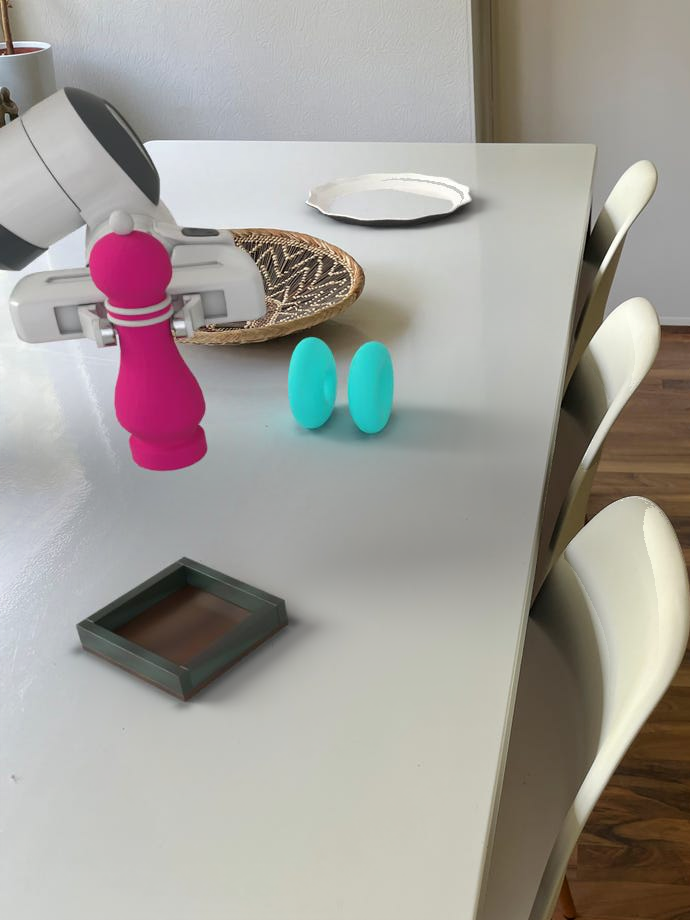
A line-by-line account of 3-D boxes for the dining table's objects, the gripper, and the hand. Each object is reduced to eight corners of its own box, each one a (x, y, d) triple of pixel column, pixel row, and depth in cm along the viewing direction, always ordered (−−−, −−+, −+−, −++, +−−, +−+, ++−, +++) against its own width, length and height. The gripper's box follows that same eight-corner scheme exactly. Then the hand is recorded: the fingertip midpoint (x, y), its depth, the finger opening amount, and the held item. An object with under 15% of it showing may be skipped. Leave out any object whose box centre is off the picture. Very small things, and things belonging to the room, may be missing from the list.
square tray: (84, 653, 85) (75, 624, 83) (190, 583, 93) (184, 556, 91) (186, 706, 80) (178, 677, 78) (289, 628, 88) (285, 599, 86)
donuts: (316, 404, 122) (307, 322, 116) (398, 410, 120) (393, 328, 114) (290, 443, 114) (279, 358, 108) (377, 450, 113) (371, 364, 107)
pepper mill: (157, 428, 91) (106, 192, 78) (229, 441, 89) (188, 201, 77) (109, 466, 86) (46, 219, 73) (184, 481, 84) (132, 230, 71)
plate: (499, 198, 189) (499, 184, 188) (419, 243, 169) (418, 228, 167) (365, 178, 200) (365, 165, 198) (275, 218, 180) (273, 204, 178)
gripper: (3, 249, 86) (-9, 308, 76) (248, 227, 91) (268, 280, 80) (24, 322, 90) (15, 387, 80) (257, 298, 94) (278, 356, 84)
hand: (145, 333), depth 80 cm, fingers closed on pepper mill, 4 cm apart
